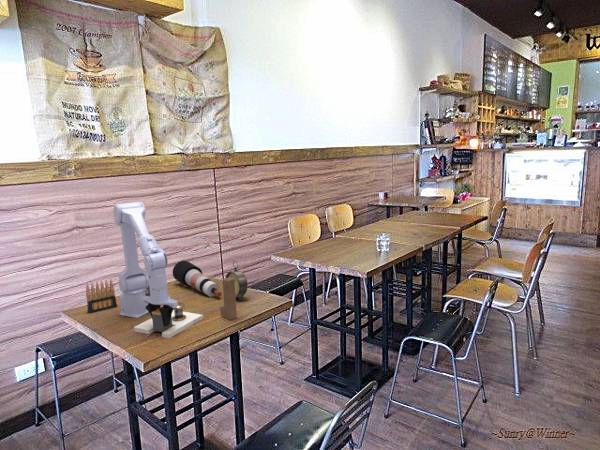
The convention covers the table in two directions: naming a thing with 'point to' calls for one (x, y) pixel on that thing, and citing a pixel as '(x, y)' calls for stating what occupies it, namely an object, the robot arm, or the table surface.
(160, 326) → the grey and orange block
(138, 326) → the notched board
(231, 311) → the wooden block
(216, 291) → the cable
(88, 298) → the ammunition clip
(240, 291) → the alarm clock
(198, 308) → the table surface
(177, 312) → the bronze knob
